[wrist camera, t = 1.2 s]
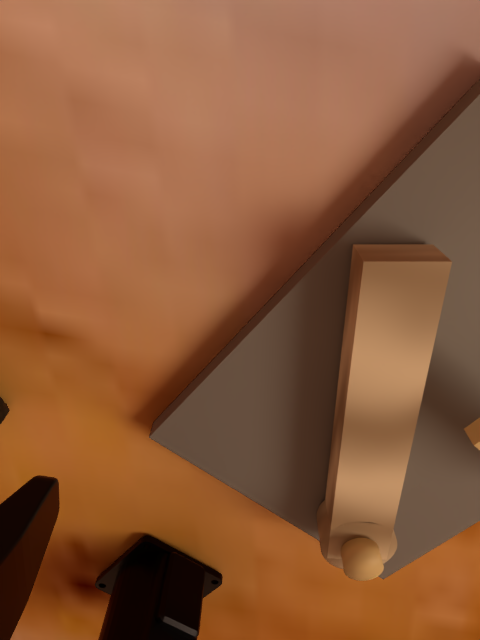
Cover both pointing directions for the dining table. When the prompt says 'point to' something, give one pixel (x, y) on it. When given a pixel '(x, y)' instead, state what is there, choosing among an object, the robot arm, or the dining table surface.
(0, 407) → the hand tool
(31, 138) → the dining table surface
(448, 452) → the keeper baseplate
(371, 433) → the birch latch bar
